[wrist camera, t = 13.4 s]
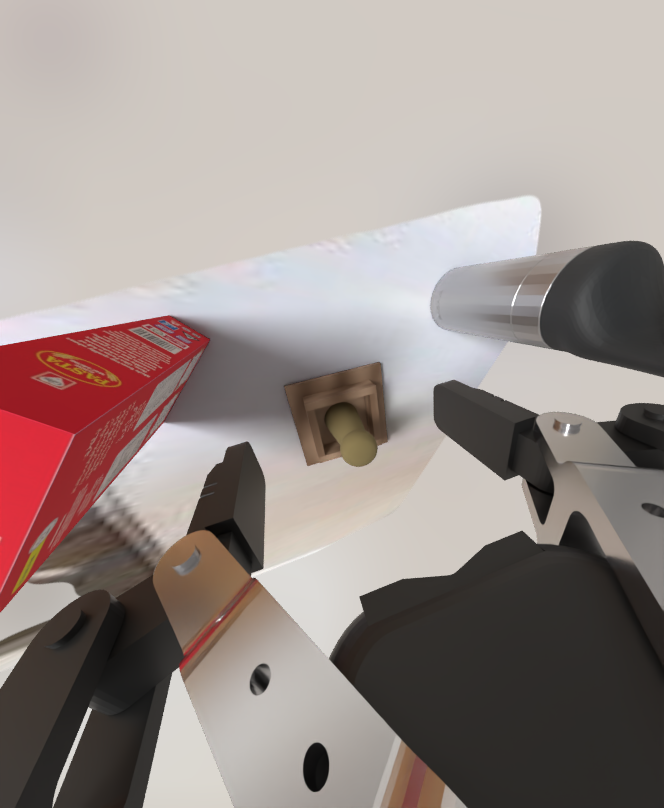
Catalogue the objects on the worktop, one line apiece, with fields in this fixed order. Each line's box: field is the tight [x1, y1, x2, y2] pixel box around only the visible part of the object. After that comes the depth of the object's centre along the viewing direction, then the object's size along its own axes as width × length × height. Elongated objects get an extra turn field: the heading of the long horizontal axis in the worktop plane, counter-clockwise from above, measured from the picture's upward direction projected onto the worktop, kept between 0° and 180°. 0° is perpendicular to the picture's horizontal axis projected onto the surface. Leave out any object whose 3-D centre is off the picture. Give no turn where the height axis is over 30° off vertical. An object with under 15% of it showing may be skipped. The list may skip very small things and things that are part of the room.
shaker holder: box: [284, 362, 388, 466], centre depth 40 cm, size 16×16×4 cm
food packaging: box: [0, 316, 210, 612], centre depth 21 cm, size 15×5×25 cm, turn 144°
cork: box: [324, 402, 378, 467], centre depth 36 cm, size 6×6×11 cm
